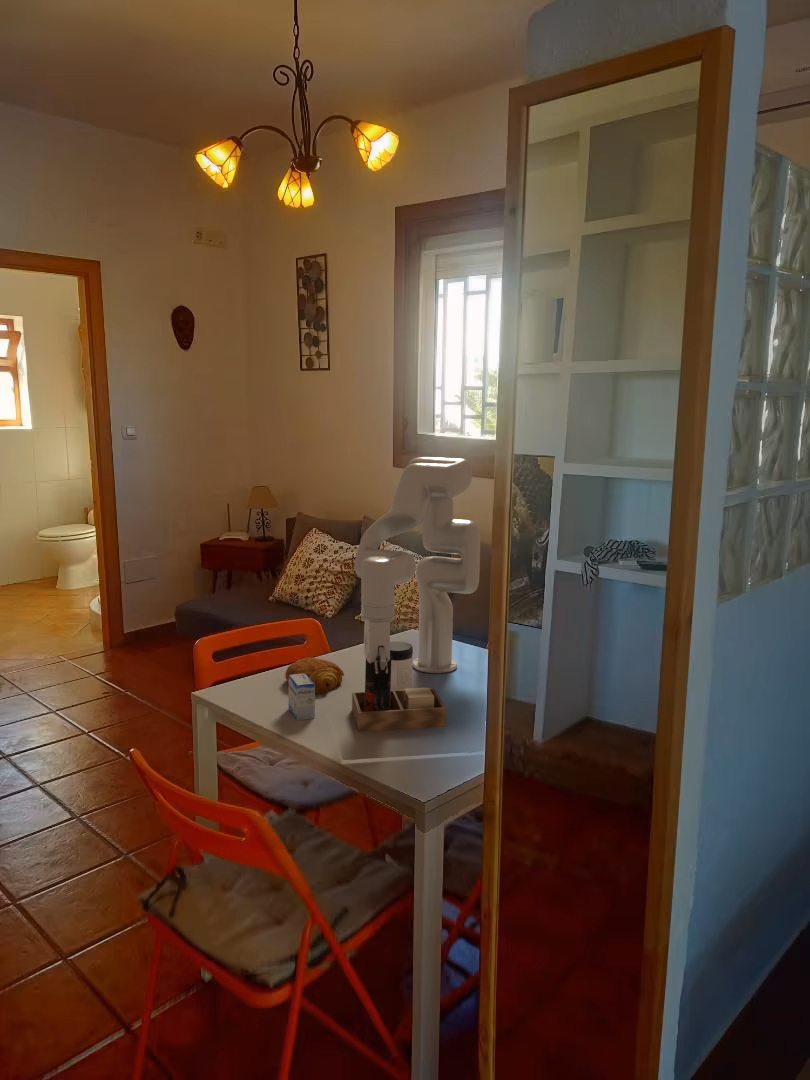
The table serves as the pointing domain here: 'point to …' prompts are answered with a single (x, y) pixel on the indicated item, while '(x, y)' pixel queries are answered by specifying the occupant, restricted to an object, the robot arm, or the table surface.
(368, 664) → the deodorant
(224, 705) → the table surface
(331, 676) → the croissant
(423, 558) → the robot arm
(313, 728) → the table surface
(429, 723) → the box
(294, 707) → the medicine box
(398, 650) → the jar
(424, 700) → the beech block
